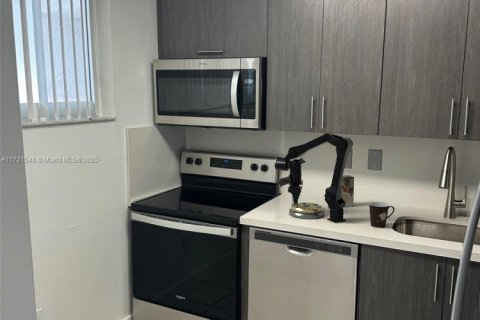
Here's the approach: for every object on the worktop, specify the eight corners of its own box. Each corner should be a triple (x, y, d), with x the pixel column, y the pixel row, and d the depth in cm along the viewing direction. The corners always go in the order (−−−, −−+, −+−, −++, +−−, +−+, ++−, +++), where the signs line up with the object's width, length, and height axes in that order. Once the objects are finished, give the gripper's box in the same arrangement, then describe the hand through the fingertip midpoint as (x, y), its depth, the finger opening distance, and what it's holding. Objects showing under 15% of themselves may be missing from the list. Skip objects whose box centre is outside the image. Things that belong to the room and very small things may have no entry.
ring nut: (325, 208, 220) (325, 196, 219) (316, 215, 207) (316, 203, 206) (297, 205, 227) (297, 193, 226) (286, 211, 214) (286, 199, 213)
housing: (330, 216, 213) (330, 212, 213) (301, 220, 206) (301, 216, 206) (311, 208, 229) (311, 204, 228) (282, 212, 222) (282, 208, 221)
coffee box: (348, 203, 239) (349, 174, 237) (353, 206, 233) (354, 176, 231) (332, 204, 237) (333, 175, 235) (337, 207, 231) (338, 177, 229)
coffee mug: (369, 228, 195) (370, 206, 193) (367, 222, 203) (368, 201, 202) (396, 229, 193) (397, 207, 191) (393, 224, 201) (394, 202, 200)
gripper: (281, 168, 226) (281, 197, 229) (277, 175, 208) (277, 207, 211) (302, 168, 224) (302, 197, 227) (300, 175, 206) (300, 207, 209)
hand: (295, 202), depth 218 cm, fingers open, 5 cm apart
